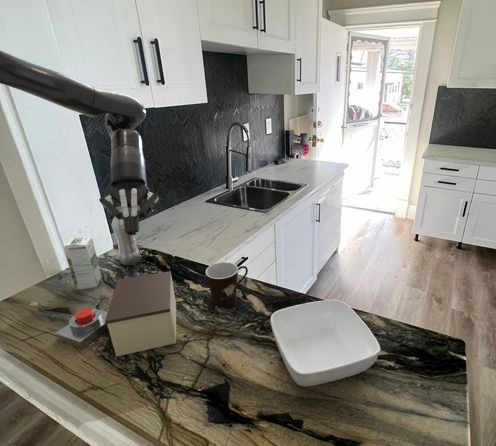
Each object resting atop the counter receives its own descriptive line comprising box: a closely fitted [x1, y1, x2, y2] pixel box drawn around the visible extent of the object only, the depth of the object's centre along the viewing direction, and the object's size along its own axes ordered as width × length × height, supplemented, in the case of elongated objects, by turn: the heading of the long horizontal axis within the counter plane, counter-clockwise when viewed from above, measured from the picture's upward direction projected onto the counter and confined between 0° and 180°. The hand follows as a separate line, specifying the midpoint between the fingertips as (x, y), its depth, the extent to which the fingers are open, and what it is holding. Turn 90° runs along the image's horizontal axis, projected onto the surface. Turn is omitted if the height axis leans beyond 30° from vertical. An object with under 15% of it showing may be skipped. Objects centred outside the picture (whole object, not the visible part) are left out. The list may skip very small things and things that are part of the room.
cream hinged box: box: [107, 275, 177, 357], centre depth 77 cm, size 16×13×10 cm
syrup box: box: [63, 236, 103, 291], centre depth 93 cm, size 6×6×14 cm
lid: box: [105, 270, 172, 324], centre depth 74 cm, size 16×13×1 cm
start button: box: [74, 307, 94, 324], centre depth 76 cm, size 4×4×2 cm
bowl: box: [270, 299, 381, 387], centre depth 70 cm, size 20×20×8 cm
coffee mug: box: [205, 261, 249, 308], centre depth 88 cm, size 12×9×10 cm
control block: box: [54, 307, 109, 350], centre depth 77 cm, size 10×8×4 cm
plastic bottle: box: [111, 205, 141, 266], centre depth 103 cm, size 6×7×20 cm
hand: (132, 233), depth 72 cm, fingers closed
